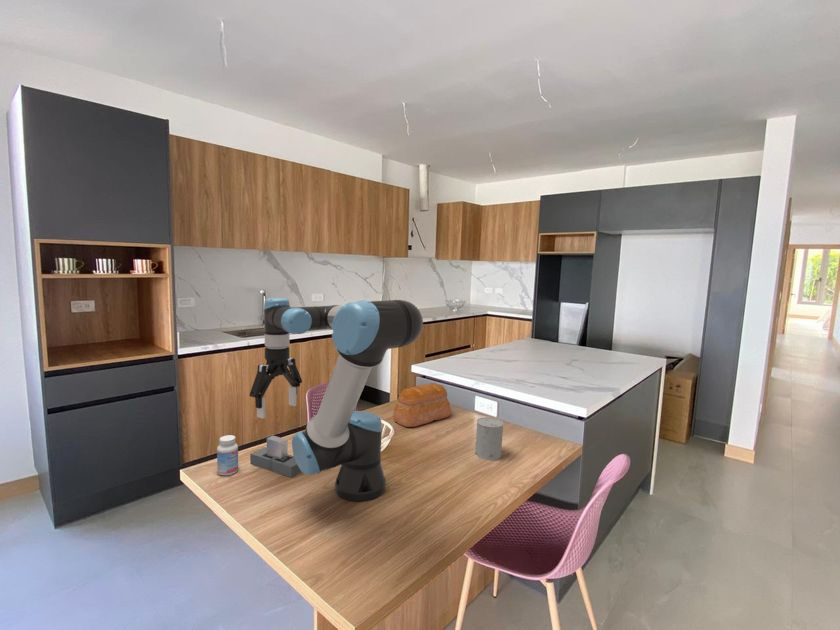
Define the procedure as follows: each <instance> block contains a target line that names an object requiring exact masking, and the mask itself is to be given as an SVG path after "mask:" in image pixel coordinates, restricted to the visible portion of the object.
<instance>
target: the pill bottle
mask: <svg viewBox="0 0 840 630" xmlns="http://www.w3.org/2000/svg"><path fill="white" fill-rule="evenodd" d="M238 445H239V444H238V443H236V436H235V435H233V434H230V435H229V434H228V435H223V436H221V437H219V445H218V446H217V449H216V458H217V459H216V460H217V461H216V466H217V469H216V470H217V472H216V473H218V475H220V476H231V475H234V474H235V473H237V472H238V471H239V446H238Z"/></svg>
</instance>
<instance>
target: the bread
mask: <svg viewBox="0 0 840 630" xmlns="http://www.w3.org/2000/svg"><path fill="white" fill-rule="evenodd" d="M447 397H448V391H447V390H446V388H445V387H444V385H441V384H438V383H435V382H432V383H431V382H430V383H428V384H427V383H426V384H419V385H414V386H412V387H407V388H404V389H402V391H401V392H400V393H399V395H398V397H397V400H398V402H397V403H396V404H395V406H394V408H393V420H395V421H394V422H395V423H396V422H397V423H396V424H399V425H401V426H403V427H406V428H415V427H419V426H420V425H426V424H429V423H431V422H434V420H435V421H440V420H442V419H446V418H448V417H450V415H451V413H452V412H451V411H452V410H451V405H450V401H449V399H448V398H447Z"/></svg>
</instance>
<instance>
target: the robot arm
mask: <svg viewBox="0 0 840 630" xmlns="http://www.w3.org/2000/svg"><path fill="white" fill-rule="evenodd" d="M263 304H264V306H263V315H264V317H263V318H264V319H263V320H264V322H263V323H264V325H263V326H264V327H263V328H264V347H265V348H264V359H265V360H266V361H265V363H266V364H258V365H257V373H256V375H255V379H254V380H253V383H252V386H251V389H250V392H249V397H251V398H254V399H255V401H254V402H255V405H254V406H255V408H256V418H259V419H262V420H264V419H266V397H265V396H264V395H265V393H266V392H267V390H268V388H269V387H270V384H271V383H272V381H273V380H274V379H275V378H276V377H277V378H278V377H279V376H283V377H284V378H285V380H286V381H287V383H289V386H288V406H291V407H297V395H298V388H299V387H300V386H301V384H302V383H303V380H302V376H301V374H300V372H299V370H298V367H297V364H296V359H295V358H294V357H290V347H289V346H290V334H293V335H302V334H305V333H306V332H313V331H322V330H323V331H324V330H332V331H333V332H332V333H331V339H332V342H333V345H334V347H335V350H336V352H337V354H338V356H337V359H336V362H335V365H334V368H333V371H332V372H331V376H330V379H329V380H328V381H329V382H328V384H327V387H326V389H325V392H324V396H323V397H322V400H321V403H320V405H319V408H318V411H317V412H316V413H317V414H316V415H314V416H312V417H311V418H310V419H309V420H308V422H307V424H306V427H305V430H304V431H298V432H295V434H294V435H293V436H292V439H291V446H292V447H291V449H292V454H293V456H294V458H295V461H296V463H297V465H298V467H299V469H300V470H301V471H302V474H305V475H307V476H312V475H315V474H320V473H322V472H326V471H327V470H331V469H333V468H336V467H338V466H340V467H339V470H338V474H337V476H336V479H335V481H334V482H335V483H334V484H335V485H334V486H335V487H334V491H335V493H336V494H337V496H339V497H341V498H342V499H345V500H347V501H353V502H364V501H365V502H366V501H370V500H374V499H376V498H378V497H380V496H381V495H383V494H384V492H385V491H386V485H387V484H386V482H387V481H386V480H387V479H386V477H385V474H384V470H383V467H382V464H381V463H382V462H381V455H382V451H381V450H382V433H383V428H382V419H381V417H380V416H379V415H377V414H375V413H372V412H369V411H363V410H355V409H356V407H357V405H358V401H359V400H360V397H361V395H362V392H363V391H364V388H365V385H366V384H367V381H368V378H369V376H370V374H371V371H372V369H373V368H376V367H378V366H379V365H380V364H381V363H382V362H383V360H384V357H385V355H386V353H387V351H388V350H391V349H396V348H402V347H403V348H404V347H407V346H409V345H411V344H412V343H414V342H416V340H417V339H418V338H419V337H420V335H421V334H422V331H423V327H424V321H423V315H422V313H421V312H420V310H419V308H418V307H417V306H416V305H415V304H414V303H412V302H410V301H408V300H402V299H391V300H390V299H389V300H388V299H387V300H373V301H372V300H371V301H370V300H364V299H363V300H358V301H353V302H348V303H345V304H344V305H338V304H333V305H321V306H319V305H318V306H316V305H315V306H294V307H293V306H290V300H289V299H288V298H285V297H283V298H282V297H269V298H266V299H265V300H264V303H263Z"/></svg>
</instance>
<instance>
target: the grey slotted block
mask: <svg viewBox="0 0 840 630" xmlns="http://www.w3.org/2000/svg"><path fill="white" fill-rule="evenodd" d="M249 455H250V459H249V460H250V465H253V466H256V467H259V468H262V469H264V470H267V471H271V472H274V473H276V474H279V475H283V476H285V477H289V478H293V477H295V476H298V475H299V474H300V473H301V472H302V471H301V470H300V469H299V467H298V465H297V463H296V461H295V458H294V455H291V454H288V457H287V461H286V462H284V463H283V462H280V461H278V459H275V458H267V446H266V447H265V446H264V447H262V448H260V449H258V450H255V451H254V452H250V454H249ZM302 473H303V472H302Z"/></svg>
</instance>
